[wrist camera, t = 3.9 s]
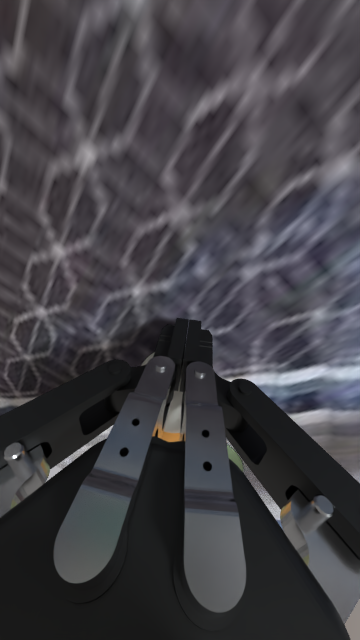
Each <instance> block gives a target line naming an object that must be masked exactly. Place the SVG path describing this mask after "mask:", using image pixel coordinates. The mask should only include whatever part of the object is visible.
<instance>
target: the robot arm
mask: <svg viewBox="0 0 360 640" xmlns="http://www.w3.org/2000/svg"><path fill="white" fill-rule="evenodd" d="M188 321H189V327H188ZM187 328H188V333H187ZM186 336H187V340H186ZM185 344H186V346H185ZM184 350H185V353H184ZM183 357H184V359H183ZM182 363H183V367H182ZM181 370H182V375H181ZM180 376H181V383H180V390H179V391H180V392H183V395H182V403H181V418H180V439H179V441H177V442H167V441H165V440H163V439H162V436H163V432H164V428H165V425H166V421H167V417H168V414H169V410H170V406H171V401H172V399H173V395H174V391H178V389H179V382H180ZM112 425H113V428H112V430H111V432H110V434H109V436H108V438H107V439H105V440H103V441H101V442H99V443H97V444H95V445H94V446H92V447H91V448H90V449H88V450H87V451H86V452H84V453H83V454H82V455H81V456H79V457H78V458H77V459H75V460H74V461H73V462H72V463H70V464H69V465H68V466H66V467H65V468H64V469H62V470H61V471H60V472H59V473H57V474H56V475H55V476H53V477H52V478H51V479H50V480H48V481H47V482H46V480H47V478H48V476H49V472H50V469H51V468H53V467H54V466H56V465H57V464H58V463H60V462H61V461H63V460H64V459H65V458H67V457H68V456H70V455H71V454H73V453H74V452H75V451H77V450H78V449H80V448H81V447H82V446H84V445H85V444H87V443H88V442H89V441H91V440H92V439H94V438H95V437H97V436H98V435H99V434H101V433H102V432H104V431H105V430H106V429H108V428H109V427H111V426H112ZM226 438H227V439H228V441H229V442H230V443H231V444H232V446H233V447H234V448H235V450H236V451H237V452H238V454H239V455H240V456H241V458H242V459H243V460H244V462H245V463H246V464H247V466H248V467H249V468H250V470H251V471H252V472H253V473H254V475H255V476H256V477H257V479H258V480H259V481H260V483H261V484H262V485H263V487H264V488H265V489H266V491H267V492H268V493H269V495H270V496H271V497H272V498H273V500H274V501H275V502H276V504H277V505H278V506H279V508H280V509H281V513H280V519H281V524H282V527H283V530H284V531H283V530H282V528H281V527H280V525H279V524H278V523H277V521H276V520H275V518H274V517H273V515H272V514H271V512H270V511H269V509H268V508H267V507H266V505H265V504H264V502H263V501H262V499H261V498H260V496H259V495H258V493H257V492H256V491H255V489H254V488H253V486H252V485H251V483H250V482H249V480H248V479H247V477H246V476H245V475H244V473H243V472H242V471H241V469H240V468H239V467H238V466H237V465H236V464H235V463H234V462H233V461H232V460H231V459H229V458H228V450H227V442H226ZM45 482H46V483H45ZM284 532H285V533H284ZM359 599H360V483H359V482H358V481H356V480H355V479H354V478H353V477H352V476H351V475H350V474H349V473H348V472H347V471H346V470H345V469H344V468H343V467H342V466H341V465H340V464H338V463H337V462H336V461H335V460H334V459H333V458H332V457H331V456H330V455H329V454H328V453H327V452H326V451H325V450H324V449H323V448H322V447H321V446H319V445H318V444H317V443H316V442H315V441H314V440H313V439H312V438H311V437H310V436H309V435H308V434H307V433H306V432H305V431H304V430H303V429H301V428H300V427H299V426H298V425H297V424H296V423H295V422H294V421H293V420H292V419H291V418H290V417H289V416H288V415H287V414H286V413H285V412H284V411H282V410H281V409H280V408H279V407H278V406H277V405H276V404H275V403H274V402H273V401H272V400H271V399H270V398H269V397H268V396H267V395H266V394H264V393H263V392H262V391H261V390H260V389H259V388H258V387H257V386H256V385H255V384H254V383H252V382H251V381H249V380H246V379H235V380H233V381H232V382H229V381H227V380H224V379H222V378H221V377H219V376H218V375H217V374H216V373H215V372H214V370H213V366H212V335H211V333H210V331H209V330H202V329H201V321H197V320H189V319H182V318H177V319H176V323H175V326H173V325H166V326H165V327H164V328H163V329H162V331H161V334H160V338H159V341H158V344H157V347H156V350H155V353H154V356H153V358H151V359H150V360H149V361H148V363H147V364H146V365H143V366H139V367H130V366H129V364H128V363H127V362H125V361H123V360H112V361H109V362H107V363H105V364H103V365H101V366H99V367H97V368H95V369H93V370H91V371H89V372H87V373H85V374H83V375H81V376H79V377H77V378H75V379H73V380H71V381H69V382H67V383H65V384H63V385H61V386H59V387H57V388H55V389H53V390H51V391H49V392H47V393H45V394H43V395H41V396H39V397H37V398H35V399H33V400H31V401H29V402H27V403H25V404H23V405H21V406H19V407H17V408H15V409H13V410H11V411H9V412H7V413H5V414H3V415H1V416H0V640H350V637H349V635H348V632H347V630H346V628H345V625H344V624H345V622H346V621H347V619H348V617H349V616H350V614H351V612H352V611H353V609H354V607H355V605H356V604H357V602H358V600H359Z"/></svg>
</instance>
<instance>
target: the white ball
mask: <svg viewBox="0 0 360 640" xmlns="http://www.w3.org/2000/svg"><path fill="white" fill-rule="evenodd" d="M154 353H155V352H154ZM154 353H152V354H151V355H150V356H149V357H147V358H146V360H145V361H144V362H143V363H142V365H141V366H143V365H146V364H147V363H148V361H149V360H150V359H151V358H153V356H154ZM184 353H185V350H184ZM183 359H184V357H183ZM182 367H183V363H182ZM181 375H182V370H181ZM180 383H181V376H180V382H179V389H178V391H174V395H173V399H172V401H171V406H170V410H169V414H168V417H167V421H166V425H165V428H164V432H168V433H180V418H181V403H182V395H183V392H180V391H179V390H180Z"/></svg>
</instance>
